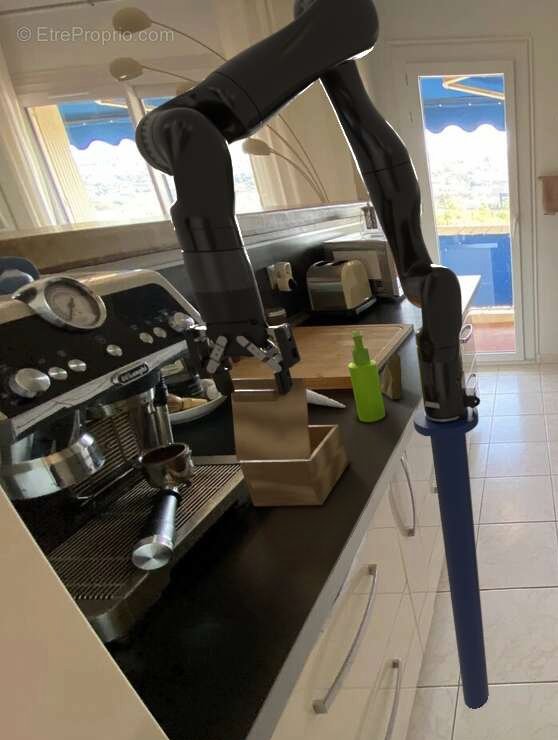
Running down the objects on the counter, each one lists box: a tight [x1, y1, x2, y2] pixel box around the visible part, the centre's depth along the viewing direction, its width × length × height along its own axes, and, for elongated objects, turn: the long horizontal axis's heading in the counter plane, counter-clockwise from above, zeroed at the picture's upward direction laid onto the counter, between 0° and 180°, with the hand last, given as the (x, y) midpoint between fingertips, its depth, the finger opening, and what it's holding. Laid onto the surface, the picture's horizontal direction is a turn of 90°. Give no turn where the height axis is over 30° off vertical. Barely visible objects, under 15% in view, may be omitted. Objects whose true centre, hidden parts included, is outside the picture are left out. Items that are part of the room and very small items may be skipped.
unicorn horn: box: [306, 388, 347, 408], centre depth 111 cm, size 5×24×5 cm, turn 65°
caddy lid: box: [230, 376, 311, 462], centre depth 69 cm, size 13×11×5 cm
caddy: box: [238, 424, 349, 507], centre depth 79 cm, size 12×11×9 cm
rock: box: [380, 352, 402, 400], centre depth 115 cm, size 11×9×10 cm
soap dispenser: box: [348, 330, 386, 423], centre depth 101 cm, size 6×7×20 cm
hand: (256, 393), depth 67 cm, fingers open, 8 cm apart
